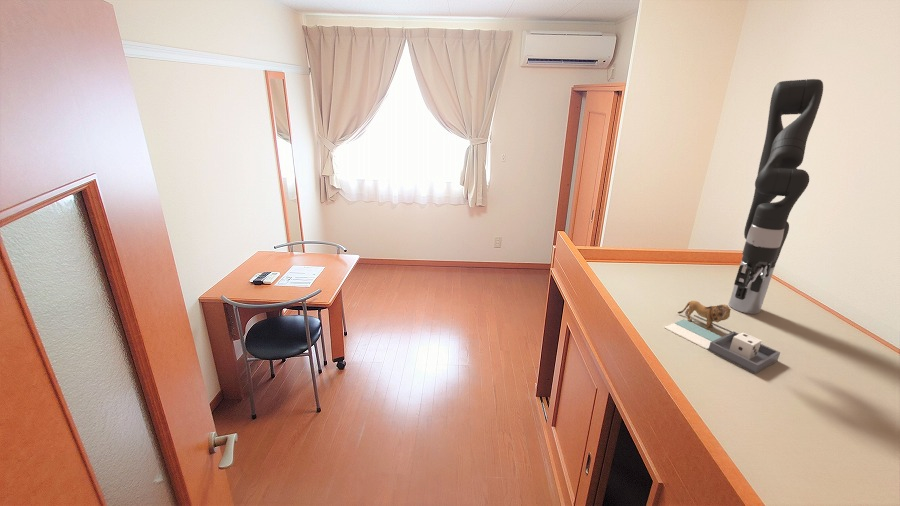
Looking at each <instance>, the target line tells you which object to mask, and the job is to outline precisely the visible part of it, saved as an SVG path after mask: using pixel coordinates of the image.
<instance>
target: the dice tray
mask: <svg viewBox="0 0 900 506" xmlns="http://www.w3.org/2000/svg"><path fill="white" fill-rule="evenodd" d="M738 334H739V333H738V332H736V331H732V332H729V333H727V334H724V335H723V336H721V338H719V339H716V340H714V341H712V342H710V346H709V349H707V351H709V352H710V353H713V354H714V355H716V356H718V357H720V358H722V359H724V360H727V361H728V362H729V363H732V364H734V365H736V366H738V367H740V368H742V369H744V370H746V371H748V372H750V373H752V374H754V375H756V374H757V373H759V372H762V371H763V370H764V369H766V368H767V367H770V366H771V365H773V364H774V363H776V362H777V361H778V360H779V357H780V354H781V352H780V351H778V350H776V349H773V348H771V347H769V346H767V345H765V344H763V343H761V344H760V347H759V350H758V353H757V356H755V357H753V358H752V359H750V360H749V359H747V358H744V357H742V356H740V355H738V354H736V353H734V352H732V351H730V346H731V343H732V340H733V337H734V336H736V335H738Z"/></svg>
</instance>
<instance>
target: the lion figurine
mask: <svg viewBox="0 0 900 506" xmlns="http://www.w3.org/2000/svg"><path fill="white" fill-rule="evenodd" d="M694 311H695V312H696V313H697V316H699V317H701V318H703V319H706V320H707V321H706V325H705V329H706V330H708V331H711V329H712V328H713V327H714V325H713V324H712V323H719V322H721V321H726V320H728V319H729V318H730V317H731V308H730V306H728V305H727V304H719V305H710V306H706V305H703V304H701V303H700V302H699V301H697V300H690V301H689V302H687V303H686V305H685V306H684V308H683V310H681V311H678V312H677V314H683V313H684V315H685V316H686V317H687V318H686V320H687V321H689V322H692V321H693V319H691V315H692V314H693V312H694Z"/></svg>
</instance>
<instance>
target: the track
mask: <svg viewBox="0 0 900 506" xmlns="http://www.w3.org/2000/svg"><path fill="white" fill-rule="evenodd" d="M693 316H694V317H696V318H698V319H701V320H702V321H705V322H707V319H706V318H704V317H701V316H700V315H696V314H693ZM712 325H713V326H715V327H719V328H721V329H722V330H725V331H727V332H729V333H731V332H733V331H732V330H731V329H727V328H725V327H723V326H721V325H719V324H717V323H715V322H712ZM663 328H664V329H665V328H666V329H665V330H667V331H669V332H671V333H674V334H675V335H677V336H680V337H681V338H683V339H685V340H687V341H689V342H691V343H693V344H694V345H697V346H699V347H701V348H703V349H705V350H708V349H709V346H710V342H712V341H714V340H716V339H719V338H721V337H722V336H721V335H719V334H716V333H715V332H712V331H711V330H707V329H706V328H704V327H702V326H700V325H698V324H696V323H694V322H692V321H688V320H687V319H685V318H683V319H680V320H679V321H676V322H673V323H670V324H668V325H666V326H664V327H663Z"/></svg>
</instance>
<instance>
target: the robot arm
mask: <svg viewBox="0 0 900 506" xmlns="http://www.w3.org/2000/svg"><path fill="white" fill-rule="evenodd" d="M823 92H824V82H823V81H822V79H818V78H817V79H816V78H812V79H811V78H810V79H808V78H806V79H794V80H782V81H779V82H777V83H776V84H775V86H774V88H773V90H772V94H771V97H770V101H769V102H770V104H769V110H768V120H767V126H766V131H765V139H764V144H763V148H762V153H761V156H760V159H759V160H760V161H759V165H758V169H757V170H758V171H757V176H756V178H755V181H754V188H755V189H754V194H753V198H752V203H751V205H750V209H749V212H748V216H747V219H746V223H745V227H744V233H743V235H744V239H745V243H744V246H743V251H742V258H741V261H740V264H739V266H738V267H739V268H738V271H737V273H736V277H735V279H734V280H735V281H734V283H733V284H734V285H733V289H732V292H731V295H730V299H729V303H728V305H729V306H728V307H729V308H730V307H731V308H732V309H733V310H735V311H737V312H741V313H745V314H750V315H757V314H759V313H761V311H762V306H763V305H764V301H765V298H766V295H767V292H768V289H769V285H770V282H771V280H772V276H773V273H774V269H775V267H776V264H777V262H778V260H779V257H780V255H781V251H782V249H783V246H784V244H785V241H786V239H787V237H788V233H789V231H790V223H789V222H788V219H789V216H790V213H791V212H792V209H793V207H794V206H795V204H796V203H797V202H798V200H799V198H800V197H801V196H802V195H803V194H804V192H805V191H806V189H807V188H808V185H809V182H810V174H809V173H808V172H807V171H806V170H804V169H798V167H800V166H801V165H802V163H803V161H804V157H805V151H806V146H807V145H806V144H807V141H808V137H809V136H810V135H809V134H810V132H811V129H812V127H813V124H814V123H815V119H816V116H817V114H818V111H819V108H820V105H821V101H822V98H823V94H824V93H823ZM785 115H799V116H798V117H797V118H796V119H795V120H794V121H792V122H790V124H788V125H787V126H786V127H784V125H783V120H782V116H785ZM776 197H783V199H781V200H779V201H776V202H775V201H774V200H775V199H776ZM773 201H774V202H773Z"/></svg>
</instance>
